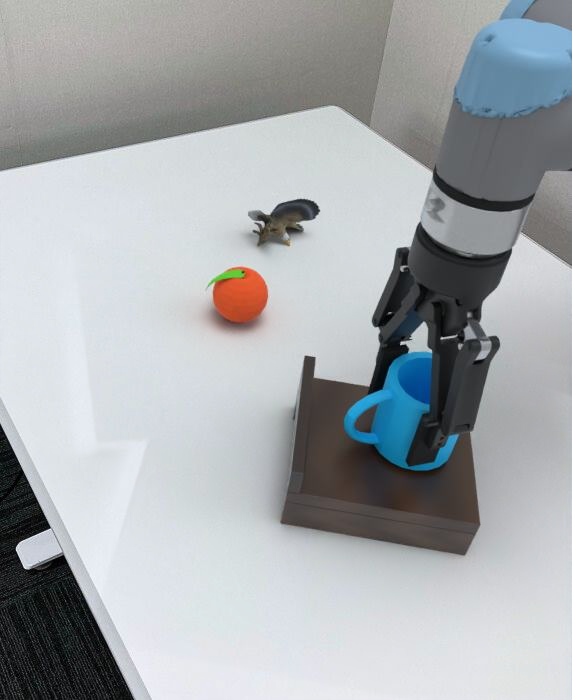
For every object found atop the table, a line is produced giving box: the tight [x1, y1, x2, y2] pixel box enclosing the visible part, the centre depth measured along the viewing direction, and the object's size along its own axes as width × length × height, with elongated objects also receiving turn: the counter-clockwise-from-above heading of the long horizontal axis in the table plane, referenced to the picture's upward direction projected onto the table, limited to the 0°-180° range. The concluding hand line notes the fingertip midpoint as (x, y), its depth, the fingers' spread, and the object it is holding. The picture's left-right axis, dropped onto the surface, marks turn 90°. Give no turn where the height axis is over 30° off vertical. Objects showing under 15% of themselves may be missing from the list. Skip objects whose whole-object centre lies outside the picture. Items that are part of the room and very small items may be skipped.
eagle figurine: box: [247, 198, 321, 247], centre depth 110 cm, size 8×7×9 cm
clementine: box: [204, 266, 269, 323], centre depth 96 cm, size 8×7×7 cm
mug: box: [344, 351, 459, 471], centre depth 75 cm, size 12×8×8 cm
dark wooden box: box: [280, 355, 481, 556], centre depth 78 cm, size 18×16×8 cm
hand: (399, 426), depth 76 cm, fingers closed on mug, 8 cm apart
